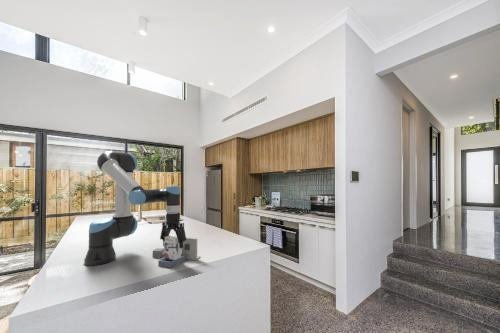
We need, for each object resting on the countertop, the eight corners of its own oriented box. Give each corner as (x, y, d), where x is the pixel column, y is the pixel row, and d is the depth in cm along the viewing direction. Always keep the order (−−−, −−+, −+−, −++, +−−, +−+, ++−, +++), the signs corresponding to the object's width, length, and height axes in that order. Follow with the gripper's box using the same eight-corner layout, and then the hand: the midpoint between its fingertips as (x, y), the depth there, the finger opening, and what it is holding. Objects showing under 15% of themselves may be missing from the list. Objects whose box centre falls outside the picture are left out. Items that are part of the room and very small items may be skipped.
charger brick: (152, 257, 132) (152, 250, 132) (156, 254, 137) (157, 248, 137) (161, 257, 131) (161, 251, 132) (165, 255, 136) (165, 248, 137)
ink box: (163, 257, 123) (164, 236, 124) (171, 255, 127) (171, 234, 128) (174, 260, 119) (174, 238, 120) (181, 257, 123) (181, 236, 124)
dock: (158, 265, 119) (158, 260, 119) (174, 258, 131) (174, 253, 131) (170, 268, 116) (170, 262, 116) (186, 259, 127) (186, 254, 128)
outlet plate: (167, 256, 133) (167, 236, 134) (173, 253, 138) (173, 234, 139) (195, 260, 126) (195, 239, 127) (200, 257, 131) (200, 237, 132)
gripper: (153, 212, 125) (152, 253, 124) (184, 214, 117) (184, 257, 116) (163, 211, 132) (162, 249, 131) (193, 212, 124) (193, 253, 123)
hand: (172, 253), depth 123 cm, fingers open, 9 cm apart
